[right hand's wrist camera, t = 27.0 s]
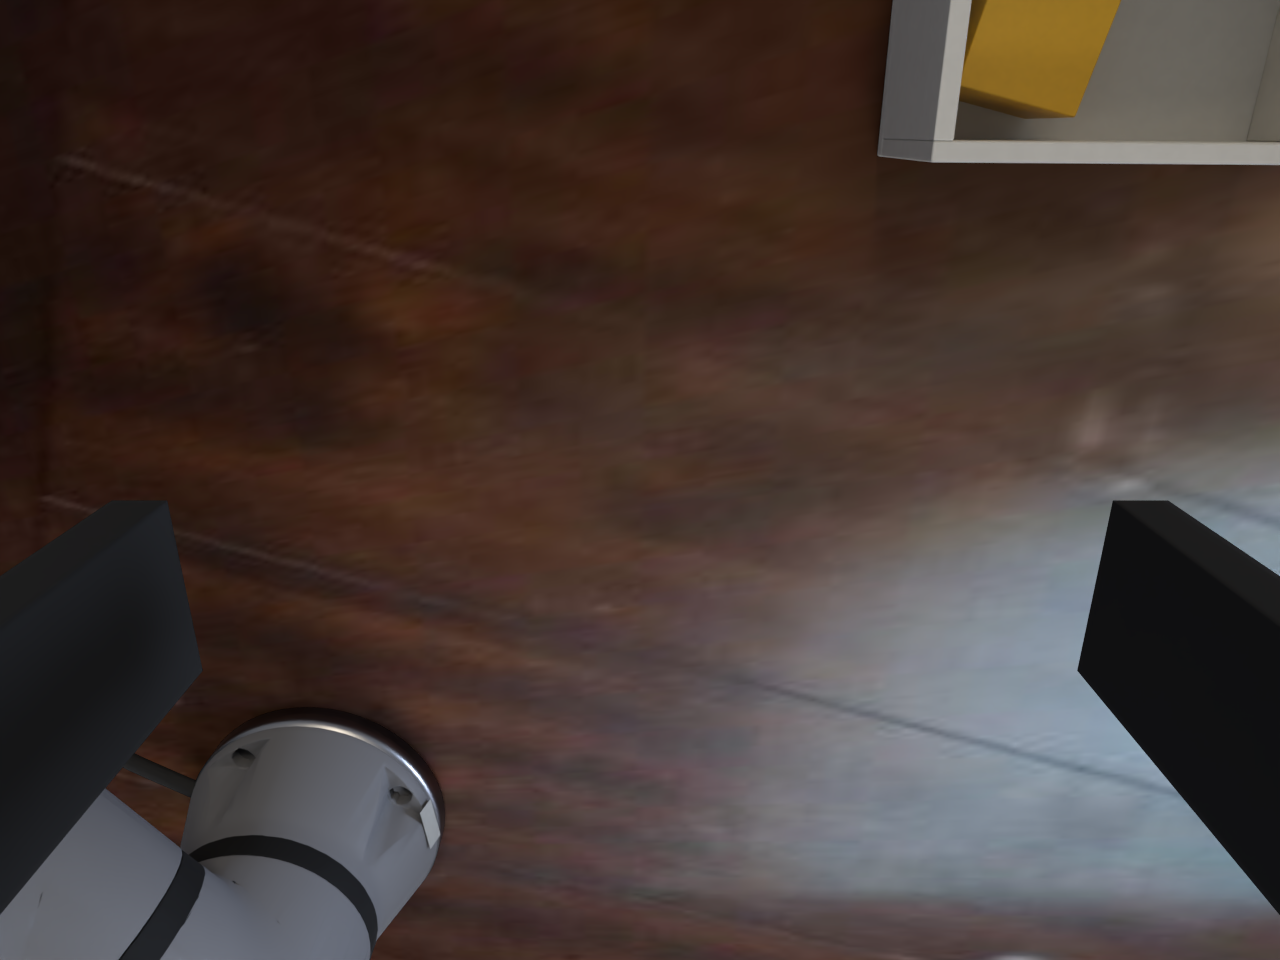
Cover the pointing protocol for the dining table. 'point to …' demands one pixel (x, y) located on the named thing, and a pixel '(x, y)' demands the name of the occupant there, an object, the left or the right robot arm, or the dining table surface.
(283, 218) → the dining table surface
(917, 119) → the chest
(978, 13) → the block
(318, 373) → the dining table surface
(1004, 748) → the dining table surface
